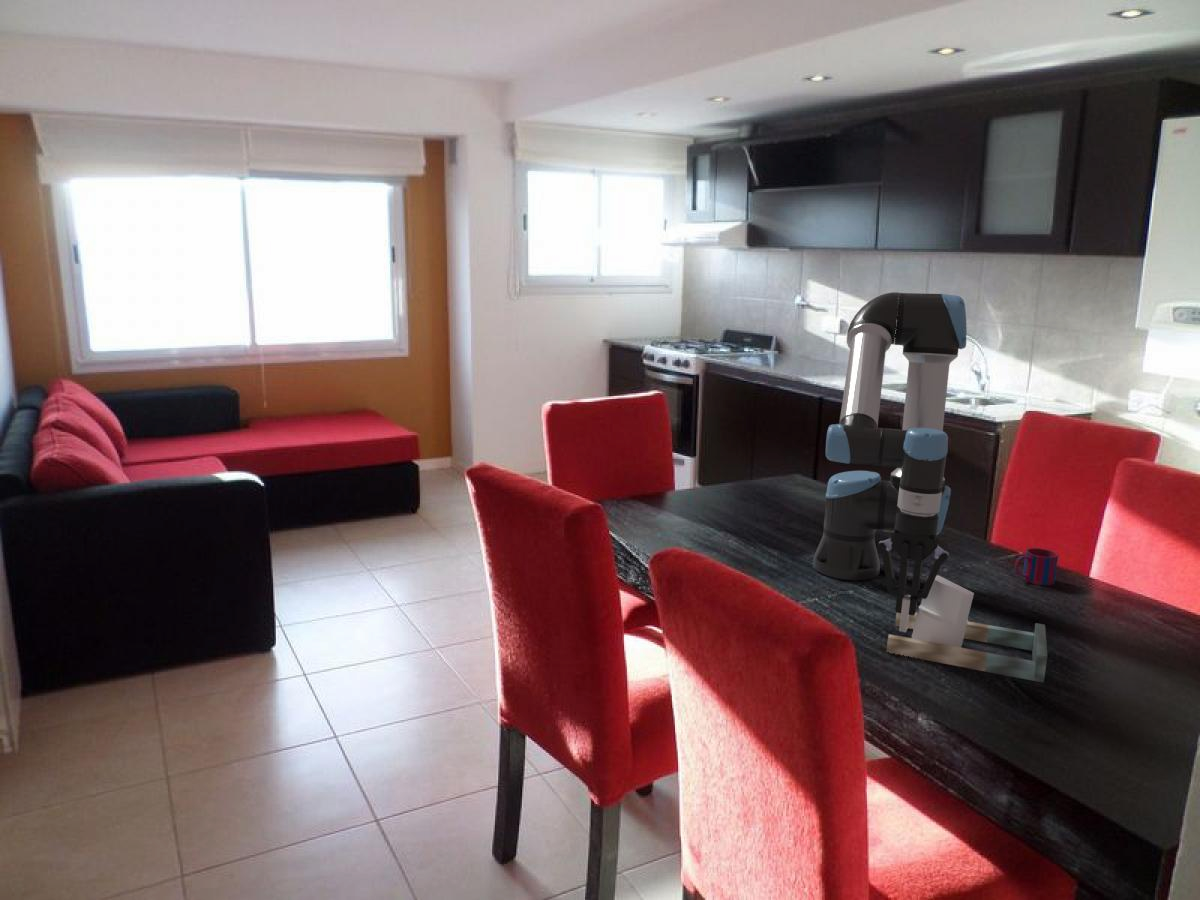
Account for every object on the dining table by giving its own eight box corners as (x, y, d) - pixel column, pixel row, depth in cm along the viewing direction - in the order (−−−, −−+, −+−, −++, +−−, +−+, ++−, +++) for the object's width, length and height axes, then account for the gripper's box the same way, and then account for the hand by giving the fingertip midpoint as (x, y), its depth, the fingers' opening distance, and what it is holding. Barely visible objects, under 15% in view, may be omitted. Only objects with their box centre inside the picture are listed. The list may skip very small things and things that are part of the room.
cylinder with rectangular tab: (901, 634, 174) (915, 576, 171) (933, 630, 178) (947, 573, 175) (938, 656, 166) (953, 596, 163) (970, 651, 170) (986, 592, 168)
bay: (886, 652, 169) (889, 627, 168) (896, 623, 182) (898, 599, 181) (1043, 682, 158) (1047, 656, 157) (1041, 649, 172) (1044, 624, 170)
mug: (1060, 585, 206) (1064, 557, 204) (1020, 586, 204) (1023, 558, 203) (1042, 575, 212) (1046, 547, 210) (1003, 576, 211) (1006, 548, 209)
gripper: (879, 510, 168) (865, 629, 173) (952, 521, 162) (936, 643, 167) (885, 501, 174) (872, 615, 179) (955, 511, 169) (940, 629, 174)
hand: (903, 629), depth 173 cm, fingers closed
